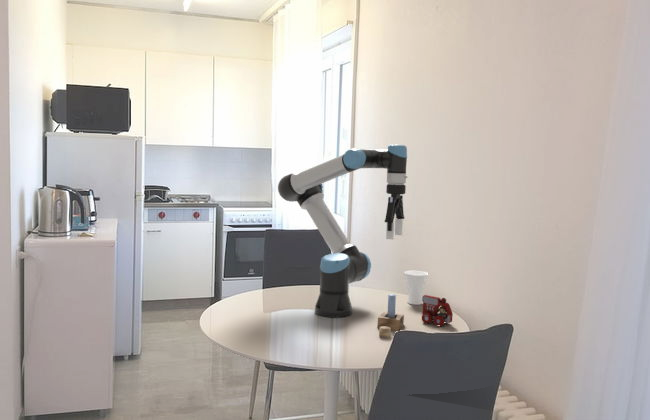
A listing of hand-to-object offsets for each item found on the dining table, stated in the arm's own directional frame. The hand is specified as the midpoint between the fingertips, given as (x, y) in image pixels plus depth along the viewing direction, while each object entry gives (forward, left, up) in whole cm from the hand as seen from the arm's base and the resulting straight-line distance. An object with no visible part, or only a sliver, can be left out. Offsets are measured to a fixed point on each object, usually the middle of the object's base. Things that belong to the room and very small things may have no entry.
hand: (394, 237), depth 228 cm
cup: (+5, +22, -32) cm, 39 cm away
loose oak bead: (+5, -28, -32) cm, 43 cm away
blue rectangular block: (+4, -16, -32) cm, 36 cm away
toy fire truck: (+19, -4, -32) cm, 37 cm away
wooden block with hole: (+4, -16, -32) cm, 36 cm away
